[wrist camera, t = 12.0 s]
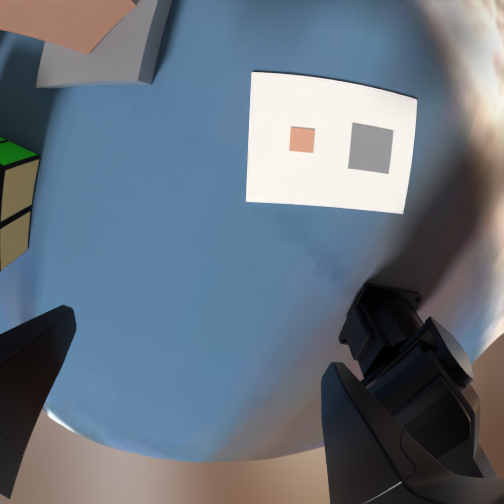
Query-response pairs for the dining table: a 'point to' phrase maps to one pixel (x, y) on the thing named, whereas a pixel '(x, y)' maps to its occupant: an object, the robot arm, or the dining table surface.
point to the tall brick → (64, 20)
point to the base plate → (111, 52)
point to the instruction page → (328, 143)
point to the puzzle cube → (15, 199)
